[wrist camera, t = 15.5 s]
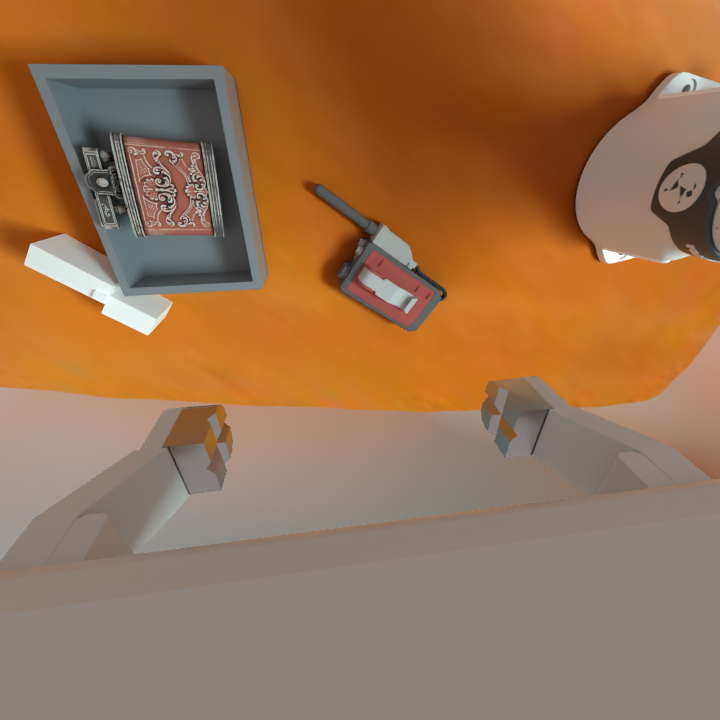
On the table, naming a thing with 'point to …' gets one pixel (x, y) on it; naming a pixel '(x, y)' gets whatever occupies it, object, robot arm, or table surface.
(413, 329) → the walkie-talkie
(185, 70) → the grey tray
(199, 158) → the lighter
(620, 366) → the table surface
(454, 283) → the table surface
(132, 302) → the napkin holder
